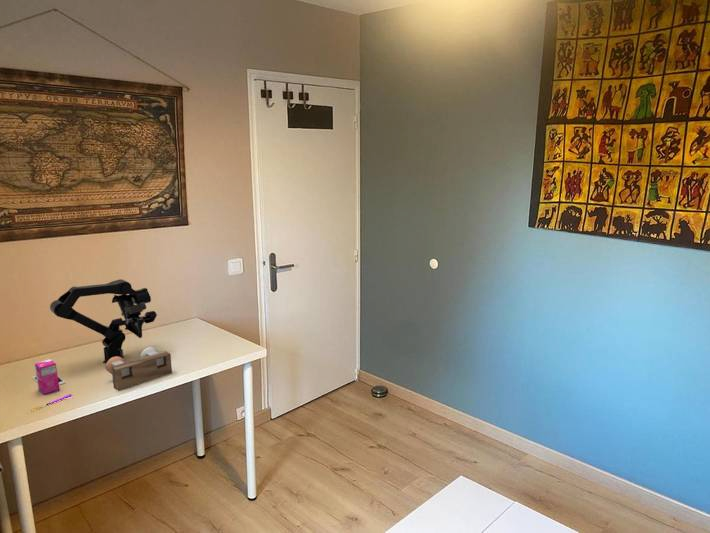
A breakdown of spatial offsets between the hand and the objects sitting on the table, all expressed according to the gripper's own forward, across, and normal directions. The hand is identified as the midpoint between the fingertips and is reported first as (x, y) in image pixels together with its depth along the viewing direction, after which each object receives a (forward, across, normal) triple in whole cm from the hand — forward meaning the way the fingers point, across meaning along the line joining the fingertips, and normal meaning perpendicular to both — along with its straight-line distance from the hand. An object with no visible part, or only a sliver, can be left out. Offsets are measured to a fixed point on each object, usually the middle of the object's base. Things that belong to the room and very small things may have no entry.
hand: (140, 337), depth 215 cm
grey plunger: (+15, 0, -1) cm, 15 cm away
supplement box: (+8, -36, +10) cm, 38 cm away
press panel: (+20, -7, -2) cm, 21 cm away
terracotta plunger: (+15, -14, -1) cm, 20 cm away
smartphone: (+1, -33, +17) cm, 37 cm away
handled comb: (+17, -39, +1) cm, 43 cm away
